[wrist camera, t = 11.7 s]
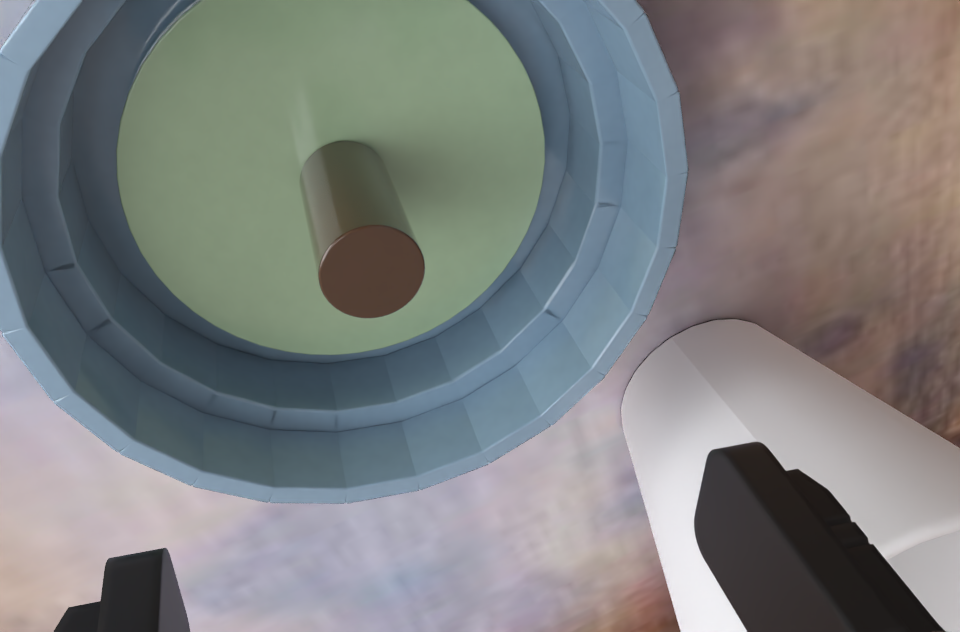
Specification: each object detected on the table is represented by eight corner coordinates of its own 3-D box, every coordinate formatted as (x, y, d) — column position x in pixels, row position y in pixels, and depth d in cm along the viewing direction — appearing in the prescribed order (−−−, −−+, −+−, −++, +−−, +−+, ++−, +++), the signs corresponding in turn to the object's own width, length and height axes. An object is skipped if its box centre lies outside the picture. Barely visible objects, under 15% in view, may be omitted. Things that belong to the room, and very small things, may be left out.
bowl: (146, -333, 18) (125, -358, 13) (707, 26, 25) (813, 86, 21) (-58, 295, 24) (-120, 421, 19) (444, 435, 31) (483, 549, 27)
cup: (632, 547, 38) (787, 838, 28) (501, 383, 31) (644, 694, 21) (872, 400, 36) (1124, 649, 26) (791, 195, 29) (1092, 429, 19)
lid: (69, -42, 20) (24, 30, 15) (543, -61, 22) (637, -6, 17) (165, 359, 26) (155, 502, 21) (526, 309, 29) (593, 427, 24)
